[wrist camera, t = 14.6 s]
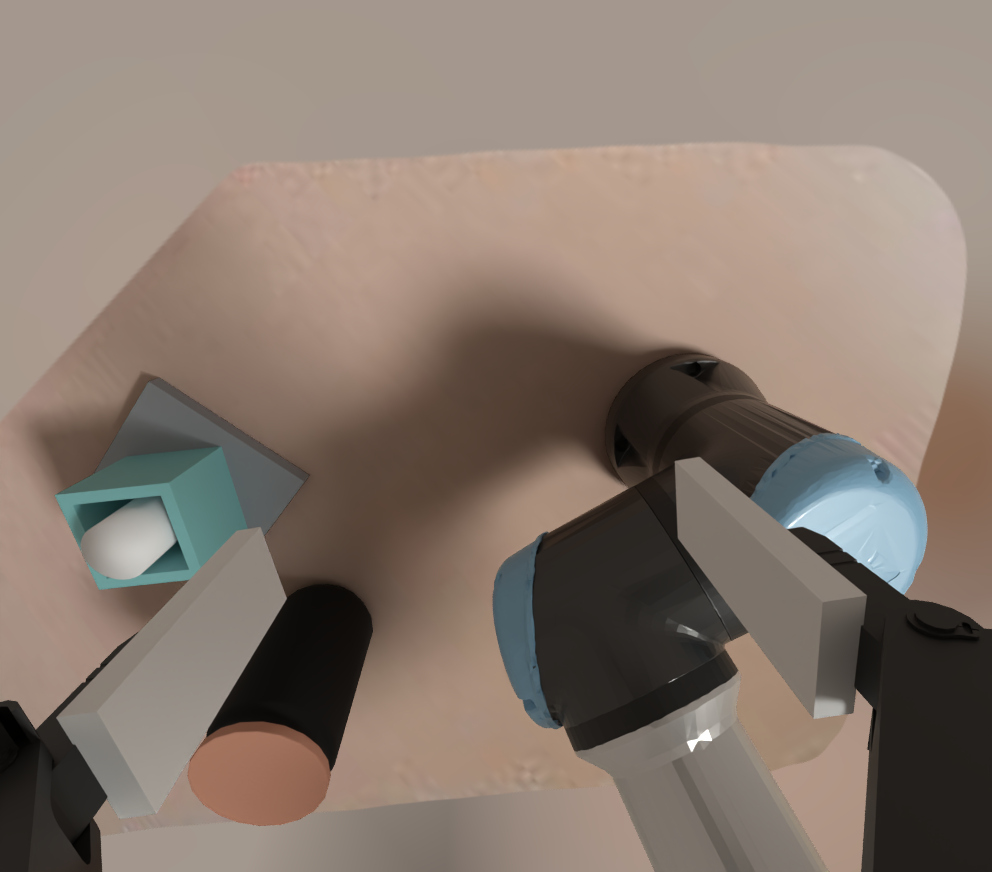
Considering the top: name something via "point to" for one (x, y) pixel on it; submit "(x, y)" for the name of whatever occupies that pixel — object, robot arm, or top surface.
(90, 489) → the teal storage bin
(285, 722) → the coffee jar
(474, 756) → the top surface
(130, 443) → the grey square base plate
